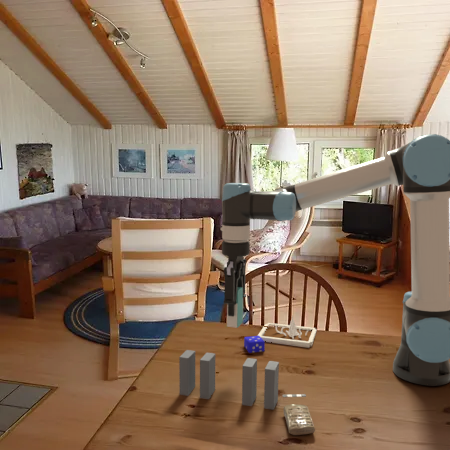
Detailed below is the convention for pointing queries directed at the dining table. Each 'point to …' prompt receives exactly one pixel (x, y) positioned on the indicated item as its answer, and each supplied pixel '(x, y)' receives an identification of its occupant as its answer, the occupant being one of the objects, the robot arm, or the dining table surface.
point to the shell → (291, 330)
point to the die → (254, 344)
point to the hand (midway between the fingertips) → (235, 323)
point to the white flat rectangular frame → (289, 341)
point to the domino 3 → (239, 306)
